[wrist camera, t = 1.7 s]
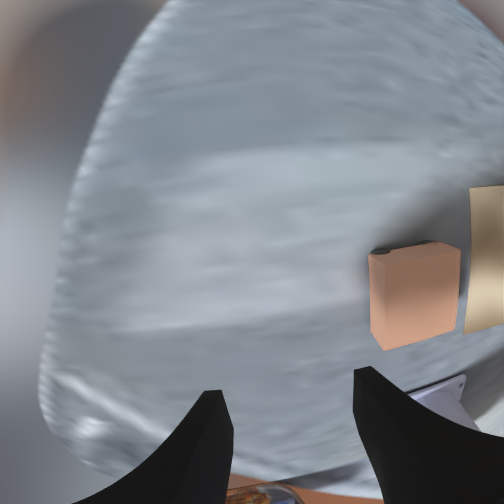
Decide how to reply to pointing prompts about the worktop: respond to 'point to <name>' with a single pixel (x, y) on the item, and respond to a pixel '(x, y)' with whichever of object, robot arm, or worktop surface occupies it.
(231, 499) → the tin
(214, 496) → the robot arm
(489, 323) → the dock
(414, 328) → the peach toy brick
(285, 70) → the worktop surface
